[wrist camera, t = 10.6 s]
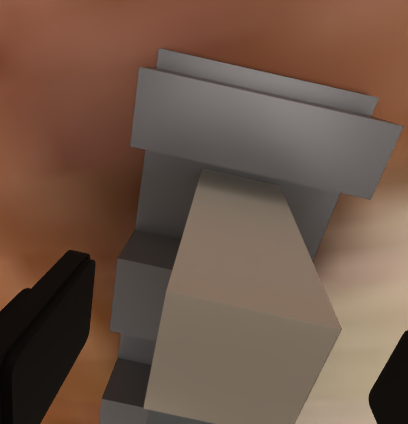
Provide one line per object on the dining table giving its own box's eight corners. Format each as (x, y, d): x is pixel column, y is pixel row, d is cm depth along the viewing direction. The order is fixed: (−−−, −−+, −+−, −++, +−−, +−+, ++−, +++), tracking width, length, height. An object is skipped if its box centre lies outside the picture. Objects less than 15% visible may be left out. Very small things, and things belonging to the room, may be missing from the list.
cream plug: (279, 185, 16) (341, 329, 7) (258, 252, 18) (286, 438, 9) (202, 168, 16) (166, 291, 7) (187, 236, 18) (143, 408, 9)
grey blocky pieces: (246, 410, 25) (249, 469, 21) (117, 383, 24) (97, 437, 21) (370, 96, 15) (413, 103, 12) (163, 49, 15) (142, 42, 12)
